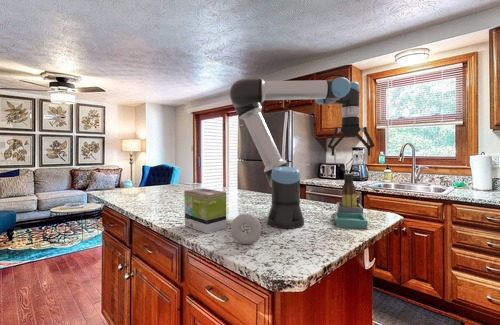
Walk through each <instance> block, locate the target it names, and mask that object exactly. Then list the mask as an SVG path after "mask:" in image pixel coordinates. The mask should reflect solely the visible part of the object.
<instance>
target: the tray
mask: <svg viewBox="0 0 500 325" xmlns="http://www.w3.org/2000/svg"><path fill="white" fill-rule="evenodd" d="M334 222H335V227H338V228H353V229H367V230H368V225H369V224H368V220H367V218H366V217H365V215H364V213H363V214H358V213H340V212H337V211H335V212H334Z"/></svg>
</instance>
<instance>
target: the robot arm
mask: <svg viewBox="0 0 500 325" xmlns="http://www.w3.org/2000/svg"><path fill="white" fill-rule="evenodd" d="M360 92H361V91H360V84H359V82H357V81H350V80H348V78H346V77H343V76H341V77H340V76H339V77H337V78H335V79H329V80H323V79H322V80H319V79H318V80H270V81H269V80H266V81H265V80H264V79H263V78H241V79H239V80H236V81H235V82H234V83H233V84H231V87H230V90H229V98H230V101H231V103H232V106H233V107H234V110H235V112H236V114H237V117H238V118H239V119H240V120H243V121H244V123H245V126H246V128H247V130H248V132H249V134H250V136H251V139H252V141H253V144H254V145H255V148H256V149H257V151H258V154H259V156H260V158H261V160H262V163H263V165H264V170H263V172H264V175H265V177H266V179H267V182H268V185H269V187H270V188H271V206H270V209H269V212H268V214H267V220H266V222H267V224H268V226H270V227H273V228H278V229H279V228H280V229H297V228H300V227H302V226H304V225H305V219H304V214H303V211H302V208H301V204H300V201H301V200H300V198H301V197H300V196H301V194H300V193H301V192H300V191H301V190H300V188H301V175H300V174H301V173H300V169H298V168H297V167H293V166H290V165H289V164H288V162H287V160H285V159H283V158H282V156H281V154H280V151H279V150H278V149H279V148H277V145H276V143H275V140H274V138H273V137H272V134H271V132H270V129H269V128H268V125H267V123H266V121H265V119H264V117H263V114H262V109H263V106H262V103H264V102H265V101H282V100H283V101H293V100H294V101H295V100H315V103H316V104H317V105H323V106H324V105H341V117H342V118H341V128H339V127H335V129H334V132H333V135H332V137H331V139H330V140H329V142H328V144H327V148H329V149H331V156H333V163H334V164H337V149H336V147H337V146H338V145H339V143H341V141H342V140H343V139H344V138H345V137H346V138H357V139H358V140H359V141H360V142H361V143H362V144H363V146H365V147H366V148H364V163H365V164H368V158H369V157H370V156H371V149H372V148H374V147H375V143H374V141H373V140H372V137H371V136H370V134H369V133H368V128H367V126H363V127H361V126H360V117H359V116H360V94H361V93H360ZM340 132H341V133H342V135H341V136H340V137H339V138H338V139H337V141H336V142H334V140H335V138H336V137H337V134H339V133H340ZM360 132H362V133H363V135H364V136H365V138H366V140H367V141H366V140H365V139H364V138H363V137H362V136H361V134H359V133H360ZM333 142H334V144H333ZM332 144H333V145H332Z"/></svg>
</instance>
